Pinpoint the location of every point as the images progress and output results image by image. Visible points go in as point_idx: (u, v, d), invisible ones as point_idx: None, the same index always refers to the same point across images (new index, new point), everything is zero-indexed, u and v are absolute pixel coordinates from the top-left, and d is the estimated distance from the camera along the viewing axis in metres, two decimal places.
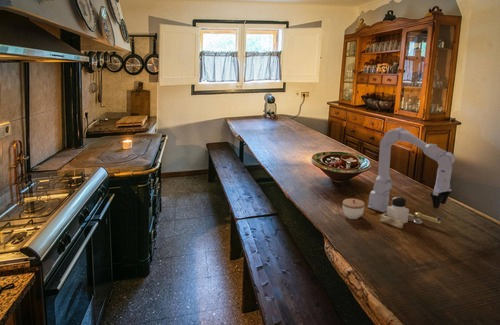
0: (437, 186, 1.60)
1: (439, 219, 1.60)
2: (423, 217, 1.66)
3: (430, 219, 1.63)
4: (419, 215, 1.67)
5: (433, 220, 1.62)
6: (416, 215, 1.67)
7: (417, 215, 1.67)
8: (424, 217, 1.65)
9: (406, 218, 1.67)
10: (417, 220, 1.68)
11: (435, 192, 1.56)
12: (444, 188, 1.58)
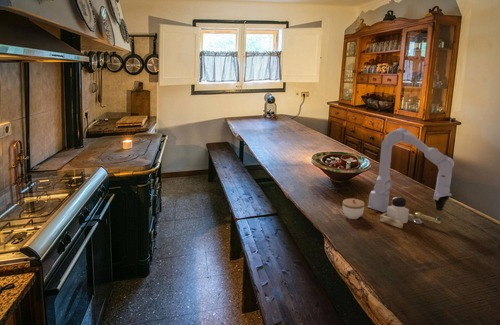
0: (437, 191, 1.62)
1: (439, 219, 1.60)
2: (423, 217, 1.66)
3: (430, 219, 1.63)
4: (419, 215, 1.67)
5: (433, 220, 1.62)
6: (416, 215, 1.67)
7: (417, 215, 1.67)
8: (424, 217, 1.65)
9: (406, 218, 1.67)
10: (417, 220, 1.68)
11: (435, 197, 1.59)
12: (444, 192, 1.61)
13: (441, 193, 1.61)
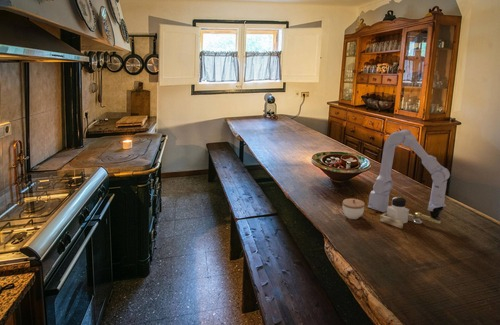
0: (432, 201, 1.61)
1: (439, 219, 1.60)
2: (423, 217, 1.66)
3: (430, 219, 1.63)
4: (419, 215, 1.67)
5: (433, 220, 1.62)
6: (416, 215, 1.67)
7: (417, 215, 1.67)
8: (424, 217, 1.65)
9: (406, 218, 1.67)
10: (417, 220, 1.68)
11: (430, 208, 1.57)
12: (439, 203, 1.59)
13: (435, 204, 1.60)
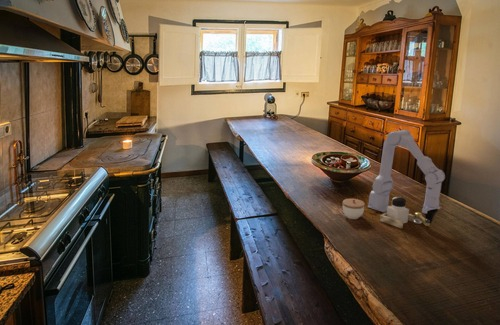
0: (426, 203, 1.58)
1: (426, 221, 1.58)
2: (419, 217, 1.65)
3: (422, 220, 1.62)
4: (417, 215, 1.67)
5: (423, 221, 1.61)
6: (415, 214, 1.68)
7: (415, 214, 1.68)
8: (419, 217, 1.65)
9: (406, 218, 1.67)
10: (417, 220, 1.68)
11: (424, 210, 1.55)
12: (433, 205, 1.57)
13: (430, 206, 1.57)
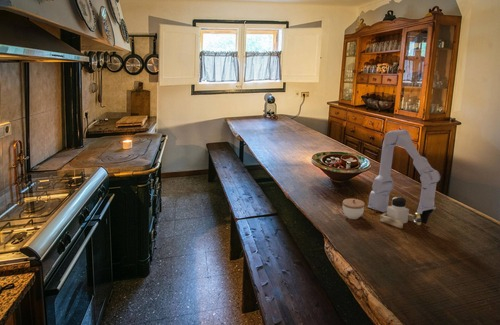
0: (421, 204, 1.58)
1: (417, 220, 1.59)
2: (416, 217, 1.66)
3: None
4: (416, 214, 1.68)
5: None
6: None
7: (415, 214, 1.68)
8: (416, 217, 1.66)
9: (406, 218, 1.67)
10: None
11: (419, 210, 1.55)
12: (428, 206, 1.56)
13: (425, 206, 1.57)
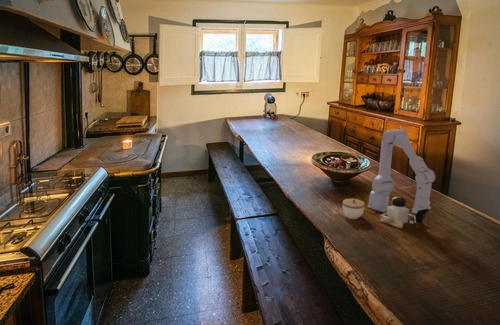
0: (416, 203, 1.59)
1: (410, 218, 1.61)
2: None
3: None
4: None
5: None
6: None
7: None
8: (414, 216, 1.66)
9: (406, 218, 1.67)
10: None
11: (414, 210, 1.55)
12: (423, 205, 1.57)
13: (420, 206, 1.57)
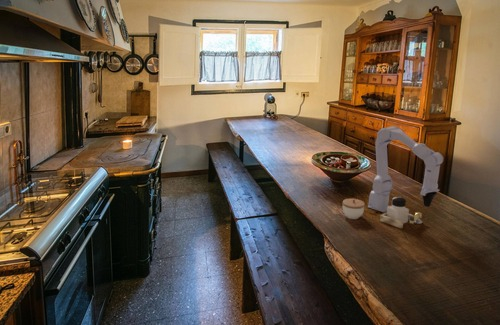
0: (425, 186, 1.59)
1: (410, 218, 1.61)
2: None
3: None
4: (415, 214, 1.68)
5: None
6: None
7: (415, 213, 1.69)
8: (414, 216, 1.66)
9: (406, 218, 1.67)
10: (417, 220, 1.68)
11: (422, 192, 1.56)
12: (432, 188, 1.58)
13: (428, 189, 1.58)
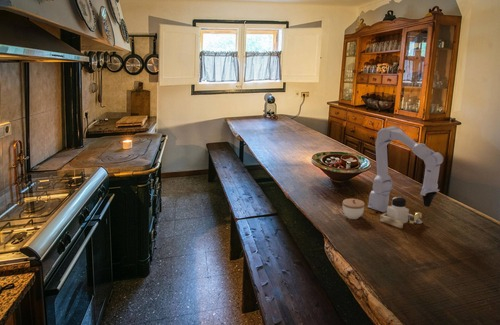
0: (425, 186, 1.59)
1: (410, 218, 1.61)
2: None
3: None
4: (415, 214, 1.68)
5: None
6: None
7: (415, 213, 1.69)
8: (414, 216, 1.66)
9: (406, 218, 1.67)
10: (417, 220, 1.68)
11: (422, 192, 1.56)
12: (432, 188, 1.58)
13: (428, 189, 1.58)
